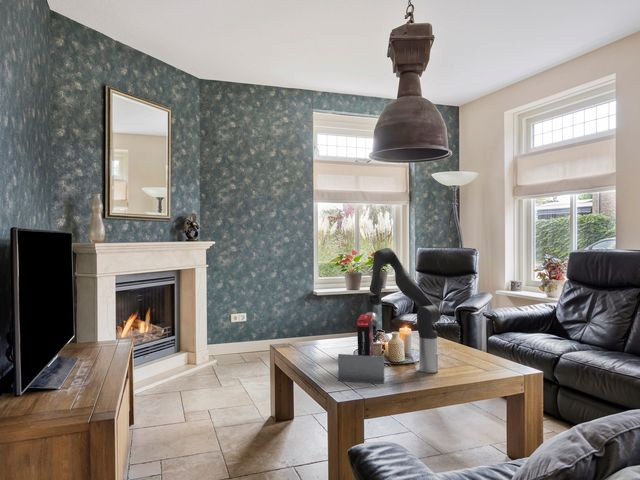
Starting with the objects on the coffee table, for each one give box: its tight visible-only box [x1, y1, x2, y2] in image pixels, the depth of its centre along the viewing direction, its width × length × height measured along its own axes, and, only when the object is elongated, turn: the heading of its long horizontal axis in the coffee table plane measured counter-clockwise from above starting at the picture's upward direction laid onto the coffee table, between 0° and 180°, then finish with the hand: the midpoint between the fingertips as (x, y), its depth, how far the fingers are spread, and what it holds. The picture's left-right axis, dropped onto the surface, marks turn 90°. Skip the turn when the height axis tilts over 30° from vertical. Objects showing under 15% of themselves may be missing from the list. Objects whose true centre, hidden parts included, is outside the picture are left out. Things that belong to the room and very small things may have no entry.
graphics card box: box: [356, 314, 374, 356], centre depth 244 cm, size 17×7×27 cm, turn 168°
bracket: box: [336, 353, 385, 385], centre depth 228 cm, size 22×14×12 cm, turn 78°
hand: (368, 348), depth 258 cm, fingers closed
